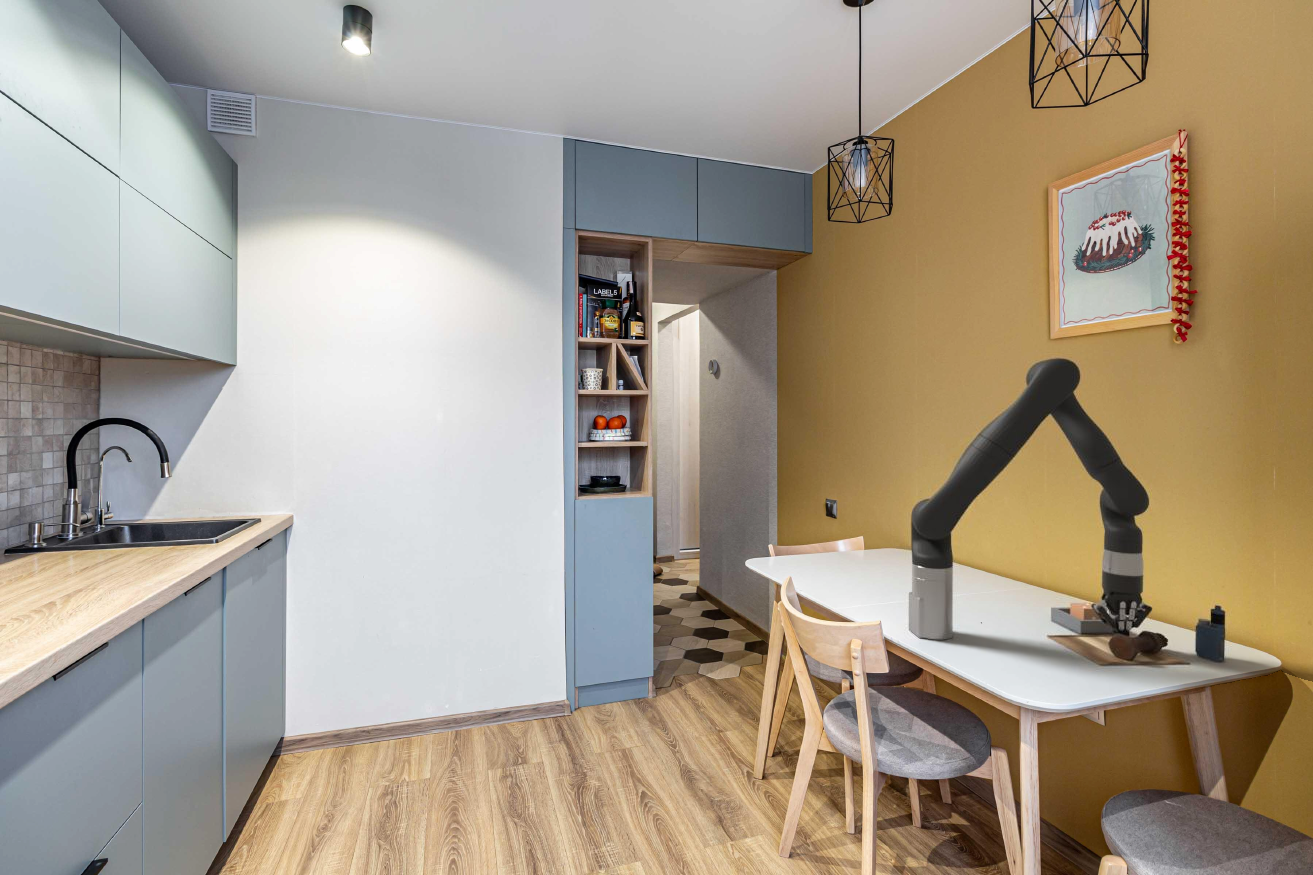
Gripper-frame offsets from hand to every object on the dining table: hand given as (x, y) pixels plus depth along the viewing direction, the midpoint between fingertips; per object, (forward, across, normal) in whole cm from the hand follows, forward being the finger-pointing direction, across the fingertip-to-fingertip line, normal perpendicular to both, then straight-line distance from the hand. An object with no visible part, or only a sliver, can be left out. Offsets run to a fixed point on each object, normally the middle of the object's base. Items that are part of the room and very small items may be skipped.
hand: (1120, 645), depth 142 cm
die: (-2, +3, +15) cm, 15 cm away
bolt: (+1, +2, -4) cm, 4 cm away
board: (+1, -2, 0) cm, 2 cm away
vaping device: (+1, +15, -6) cm, 16 cm away
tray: (+1, +3, +15) cm, 15 cm away
